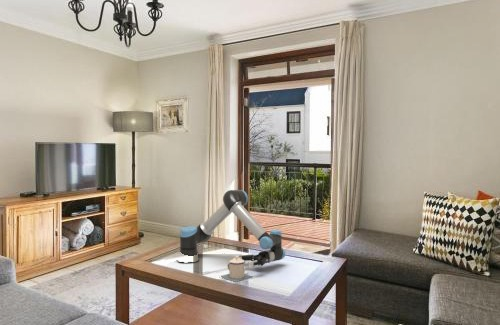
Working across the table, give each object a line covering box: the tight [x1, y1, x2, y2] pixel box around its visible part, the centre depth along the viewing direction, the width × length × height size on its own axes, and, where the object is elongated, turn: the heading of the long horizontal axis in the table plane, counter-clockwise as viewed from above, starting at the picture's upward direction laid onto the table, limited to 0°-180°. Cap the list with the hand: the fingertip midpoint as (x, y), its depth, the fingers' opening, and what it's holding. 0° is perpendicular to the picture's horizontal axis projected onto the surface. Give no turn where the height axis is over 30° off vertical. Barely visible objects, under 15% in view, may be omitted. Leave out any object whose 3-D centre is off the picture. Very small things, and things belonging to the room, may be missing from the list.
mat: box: [220, 273, 254, 283], centre depth 179 cm, size 14×14×1 cm
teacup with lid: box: [227, 255, 246, 279], centre depth 179 cm, size 12×9×12 cm
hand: (240, 262), depth 182 cm, fingers open, 13 cm apart
